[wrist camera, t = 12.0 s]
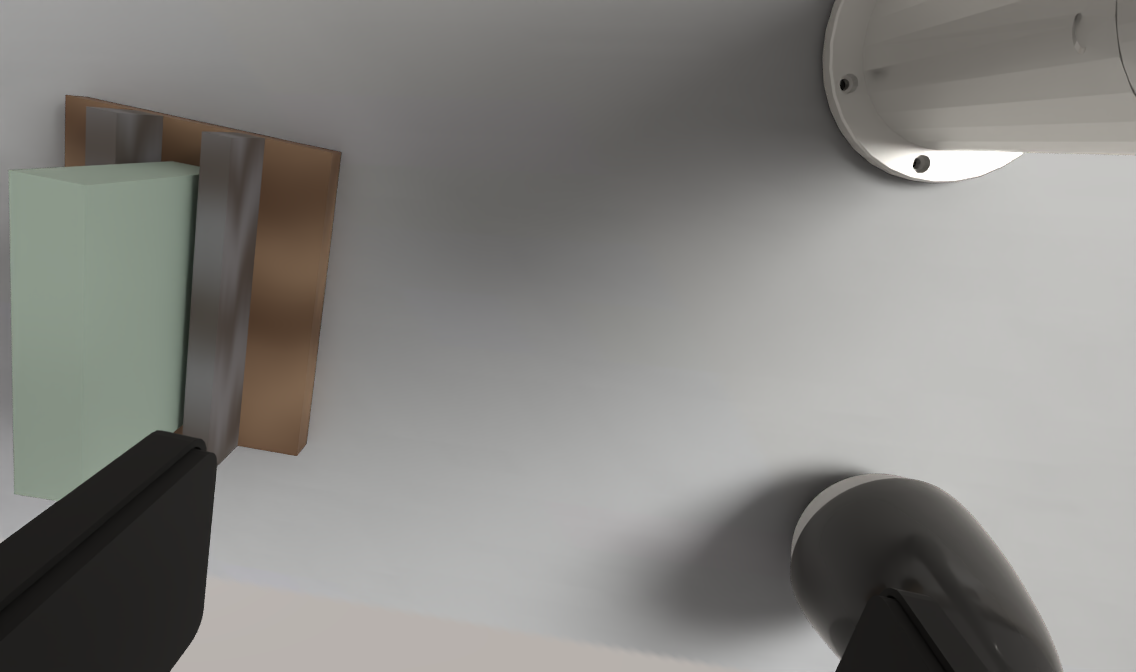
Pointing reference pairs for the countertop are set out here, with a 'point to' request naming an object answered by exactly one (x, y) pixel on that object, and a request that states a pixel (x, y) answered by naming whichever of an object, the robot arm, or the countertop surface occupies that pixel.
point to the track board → (236, 265)
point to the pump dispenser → (913, 568)
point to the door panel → (97, 314)
